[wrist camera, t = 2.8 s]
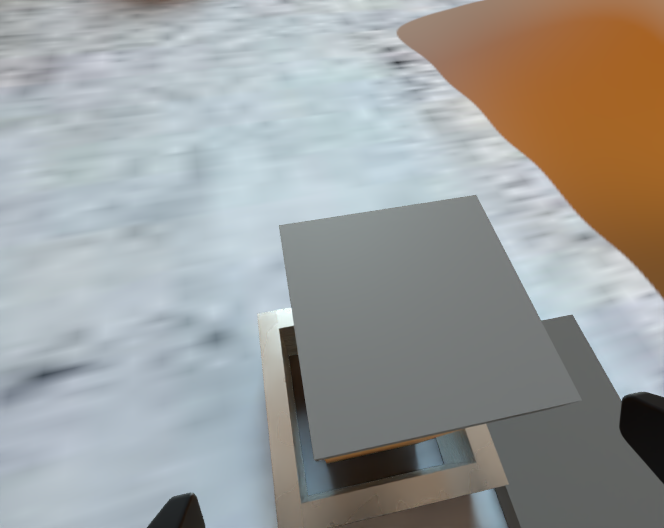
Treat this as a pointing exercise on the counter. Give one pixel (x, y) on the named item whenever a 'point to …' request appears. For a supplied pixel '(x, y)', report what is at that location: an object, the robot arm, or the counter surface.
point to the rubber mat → (575, 454)
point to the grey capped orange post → (413, 328)
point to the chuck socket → (371, 497)
